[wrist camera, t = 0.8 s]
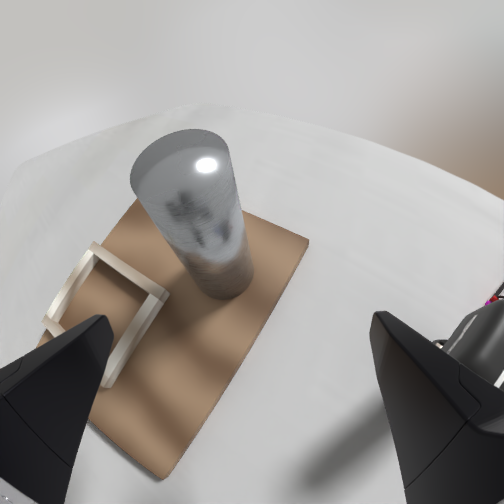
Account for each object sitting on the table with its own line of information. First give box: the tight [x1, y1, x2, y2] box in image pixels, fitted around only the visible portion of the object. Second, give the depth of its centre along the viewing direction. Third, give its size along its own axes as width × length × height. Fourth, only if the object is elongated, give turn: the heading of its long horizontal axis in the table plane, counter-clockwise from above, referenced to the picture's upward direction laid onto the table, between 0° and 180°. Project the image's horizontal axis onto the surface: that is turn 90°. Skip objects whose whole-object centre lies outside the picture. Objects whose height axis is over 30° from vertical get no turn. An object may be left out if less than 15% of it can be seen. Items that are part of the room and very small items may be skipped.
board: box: [36, 198, 309, 480], centre depth 24 cm, size 24×18×2 cm
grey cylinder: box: [130, 129, 254, 300], centre depth 19 cm, size 5×5×13 cm
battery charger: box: [432, 299, 504, 391], centre depth 15 cm, size 7×4×11 cm, turn 125°
